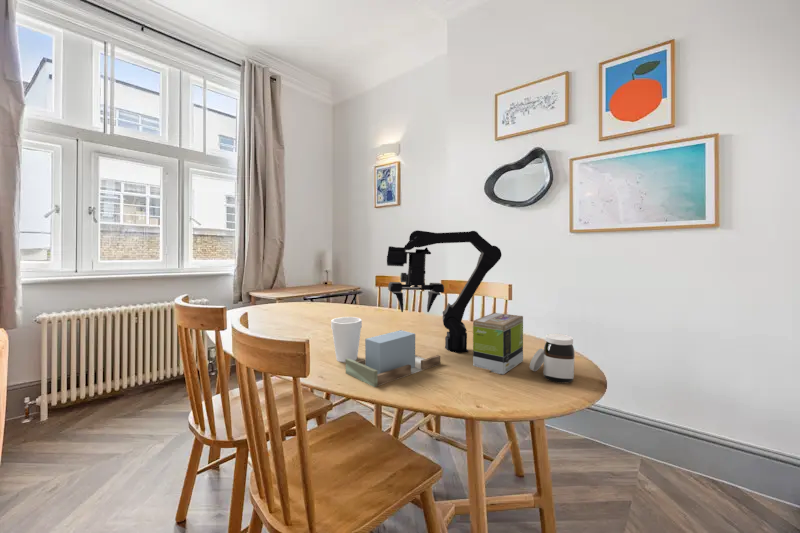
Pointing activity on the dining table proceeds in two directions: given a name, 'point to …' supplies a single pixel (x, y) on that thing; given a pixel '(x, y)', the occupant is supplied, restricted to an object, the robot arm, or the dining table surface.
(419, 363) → the lane
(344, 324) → the foam cup
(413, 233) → the robot arm
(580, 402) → the dining table surface
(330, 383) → the dining table surface
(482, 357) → the tea box
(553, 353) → the spread jar
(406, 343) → the slate box
